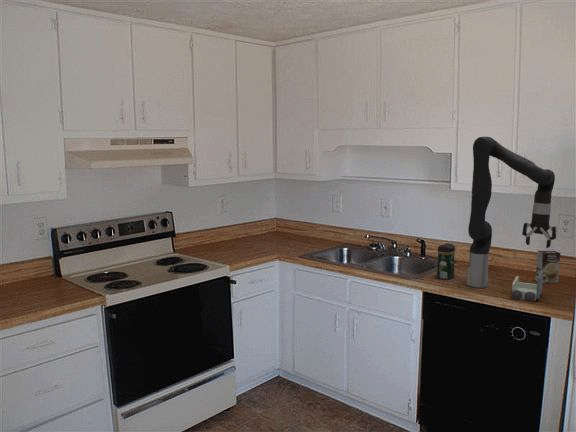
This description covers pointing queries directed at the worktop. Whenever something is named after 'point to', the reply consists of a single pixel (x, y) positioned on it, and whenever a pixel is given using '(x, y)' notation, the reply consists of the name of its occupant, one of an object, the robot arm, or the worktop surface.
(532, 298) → the cart
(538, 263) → the coffee box
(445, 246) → the coffee jar
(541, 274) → the tailgate
